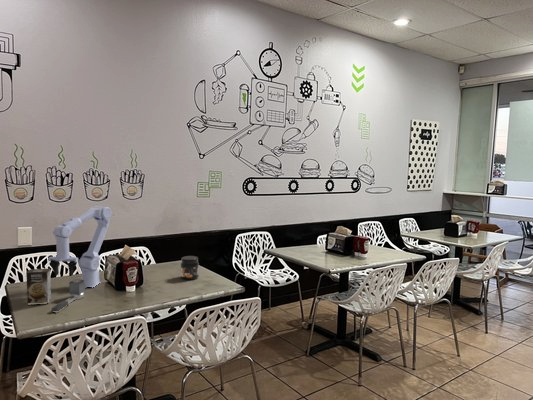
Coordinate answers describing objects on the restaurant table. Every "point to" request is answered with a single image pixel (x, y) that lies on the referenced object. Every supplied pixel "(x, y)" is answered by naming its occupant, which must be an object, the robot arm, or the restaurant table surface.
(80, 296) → the ratchet
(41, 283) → the cookie box
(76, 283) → the brushed metal cube
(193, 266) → the supplement container
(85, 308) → the restaurant table surface
